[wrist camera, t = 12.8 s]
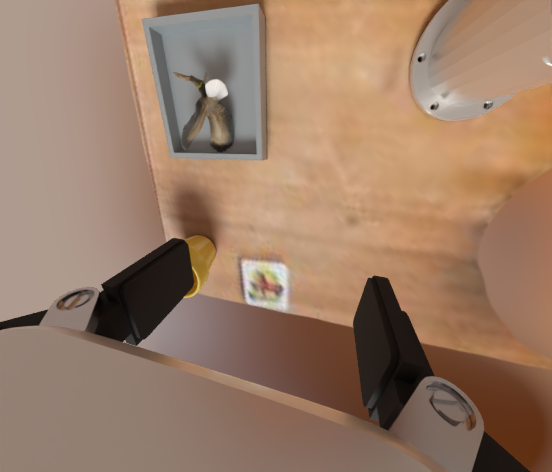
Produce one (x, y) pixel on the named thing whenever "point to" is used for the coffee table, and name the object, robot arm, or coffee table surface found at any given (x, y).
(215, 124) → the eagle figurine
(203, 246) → the plant pot
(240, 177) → the coffee table surface
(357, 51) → the coffee table surface
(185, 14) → the bin
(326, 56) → the coffee table surface
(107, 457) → the robot arm
